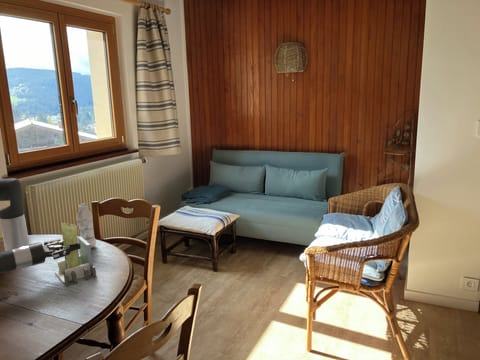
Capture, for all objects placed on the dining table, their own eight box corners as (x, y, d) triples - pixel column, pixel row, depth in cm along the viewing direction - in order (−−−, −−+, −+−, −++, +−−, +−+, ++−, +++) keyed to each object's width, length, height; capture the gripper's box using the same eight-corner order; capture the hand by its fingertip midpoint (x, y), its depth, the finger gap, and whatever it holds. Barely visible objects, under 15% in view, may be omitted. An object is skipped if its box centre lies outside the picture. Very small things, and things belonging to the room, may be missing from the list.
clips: (65, 284, 142) (63, 274, 141) (94, 274, 149) (93, 265, 148) (66, 286, 140) (65, 276, 139) (96, 276, 147) (95, 267, 146)
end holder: (55, 273, 151) (50, 243, 148) (84, 264, 158) (80, 236, 155) (63, 283, 143) (58, 252, 140) (94, 273, 149) (90, 244, 146)
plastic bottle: (91, 251, 170) (85, 207, 165) (77, 250, 171) (71, 206, 166) (99, 245, 176) (94, 202, 171) (85, 244, 177) (80, 202, 173)
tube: (82, 267, 153) (77, 220, 149) (81, 273, 149) (76, 224, 144) (66, 270, 151) (60, 222, 147) (65, 276, 147) (59, 226, 142)
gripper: (31, 252, 132) (82, 239, 143) (22, 240, 143) (70, 229, 153) (34, 272, 134) (85, 258, 144) (25, 259, 145) (72, 246, 155)
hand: (77, 243), depth 149 cm, fingers closed on tube, 5 cm apart
